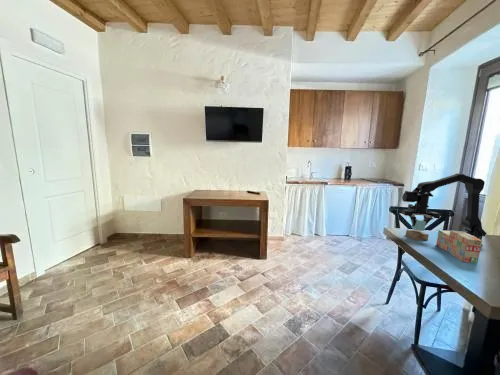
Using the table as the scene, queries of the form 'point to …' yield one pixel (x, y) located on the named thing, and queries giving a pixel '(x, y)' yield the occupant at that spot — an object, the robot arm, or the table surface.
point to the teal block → (419, 225)
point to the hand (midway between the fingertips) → (418, 226)
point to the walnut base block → (417, 234)
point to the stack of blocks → (460, 245)
